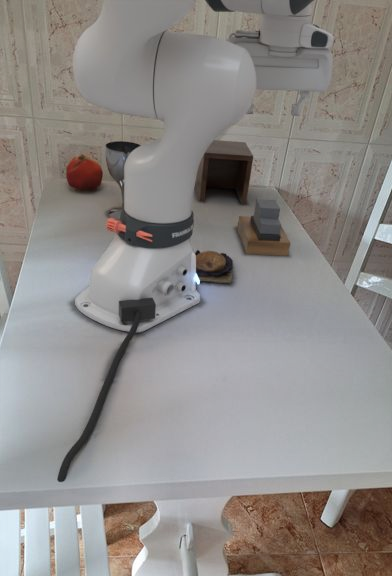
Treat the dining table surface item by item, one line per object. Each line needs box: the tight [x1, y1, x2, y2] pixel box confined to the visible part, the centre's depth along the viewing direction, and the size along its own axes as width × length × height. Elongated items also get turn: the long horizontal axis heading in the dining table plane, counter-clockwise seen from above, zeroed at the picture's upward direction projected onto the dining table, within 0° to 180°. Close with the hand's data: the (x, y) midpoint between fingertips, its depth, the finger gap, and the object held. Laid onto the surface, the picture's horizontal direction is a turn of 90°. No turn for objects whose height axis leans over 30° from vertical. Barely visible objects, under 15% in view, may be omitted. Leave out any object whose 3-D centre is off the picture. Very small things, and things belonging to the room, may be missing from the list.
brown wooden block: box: [236, 215, 291, 257], centre depth 107 cm, size 13×9×3 cm
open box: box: [195, 139, 254, 205], centre depth 125 cm, size 12×12×12 cm
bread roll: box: [195, 249, 234, 284], centre depth 94 cm, size 11×8×4 cm
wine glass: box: [104, 140, 141, 221], centre depth 108 cm, size 8×8×15 cm
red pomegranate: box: [65, 153, 104, 191], centre depth 121 cm, size 9×9×8 cm
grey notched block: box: [250, 198, 282, 241], centre depth 104 cm, size 10×5×6 cm, turn 5°
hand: (271, 114), depth 97 cm, fingers open, 8 cm apart
